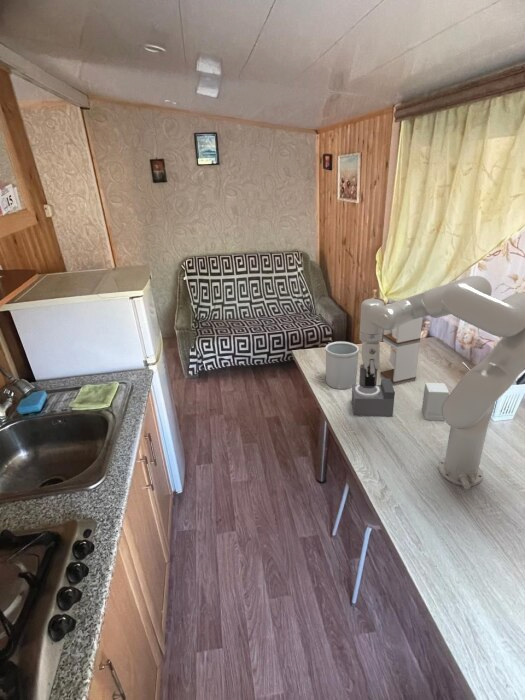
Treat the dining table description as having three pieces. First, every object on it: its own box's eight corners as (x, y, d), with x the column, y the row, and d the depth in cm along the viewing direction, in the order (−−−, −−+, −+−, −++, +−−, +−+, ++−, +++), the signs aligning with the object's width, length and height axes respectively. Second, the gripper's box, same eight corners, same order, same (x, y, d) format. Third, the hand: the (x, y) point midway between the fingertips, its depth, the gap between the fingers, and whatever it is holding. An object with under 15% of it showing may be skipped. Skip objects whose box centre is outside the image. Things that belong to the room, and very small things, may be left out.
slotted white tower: (401, 370, 186) (407, 300, 172) (415, 380, 177) (423, 307, 162) (380, 375, 183) (385, 304, 169) (393, 385, 174) (400, 311, 160)
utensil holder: (337, 371, 190) (337, 338, 183) (363, 380, 180) (365, 346, 173) (318, 382, 181) (318, 348, 173) (345, 393, 171) (346, 357, 163)
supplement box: (445, 421, 148) (449, 392, 143) (424, 420, 150) (428, 391, 144) (441, 410, 154) (445, 382, 149) (421, 409, 156) (424, 382, 151)
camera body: (392, 416, 153) (394, 392, 148) (353, 415, 155) (354, 391, 150) (388, 401, 163) (390, 378, 158) (351, 400, 165) (352, 378, 160)
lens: (377, 388, 138) (378, 370, 135) (359, 388, 139) (360, 370, 136) (374, 380, 143) (376, 362, 140) (357, 380, 144) (358, 363, 141)
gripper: (386, 345, 125) (382, 393, 132) (378, 325, 140) (374, 369, 148) (363, 345, 126) (360, 393, 133) (356, 326, 141) (354, 370, 149)
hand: (368, 380), depth 140 cm, fingers closed on lens, 6 cm apart
